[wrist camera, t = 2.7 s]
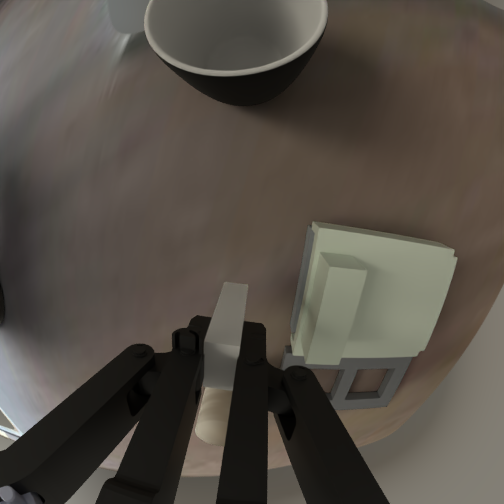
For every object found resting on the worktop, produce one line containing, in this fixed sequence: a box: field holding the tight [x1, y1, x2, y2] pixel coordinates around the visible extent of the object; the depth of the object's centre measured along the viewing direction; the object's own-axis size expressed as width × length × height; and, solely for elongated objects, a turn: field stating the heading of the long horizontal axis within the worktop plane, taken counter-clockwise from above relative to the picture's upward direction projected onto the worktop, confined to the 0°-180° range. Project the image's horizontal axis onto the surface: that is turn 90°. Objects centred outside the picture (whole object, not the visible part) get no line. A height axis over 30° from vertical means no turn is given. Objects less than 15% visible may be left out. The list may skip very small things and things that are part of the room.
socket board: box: [280, 346, 413, 410], centre depth 25 cm, size 14×8×1 cm, turn 83°
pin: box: [195, 387, 232, 446], centre depth 21 cm, size 4×4×9 cm
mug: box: [144, 0, 328, 106], centre depth 13 cm, size 12×9×10 cm
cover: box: [290, 221, 458, 365], centre depth 19 cm, size 13×10×5 cm
